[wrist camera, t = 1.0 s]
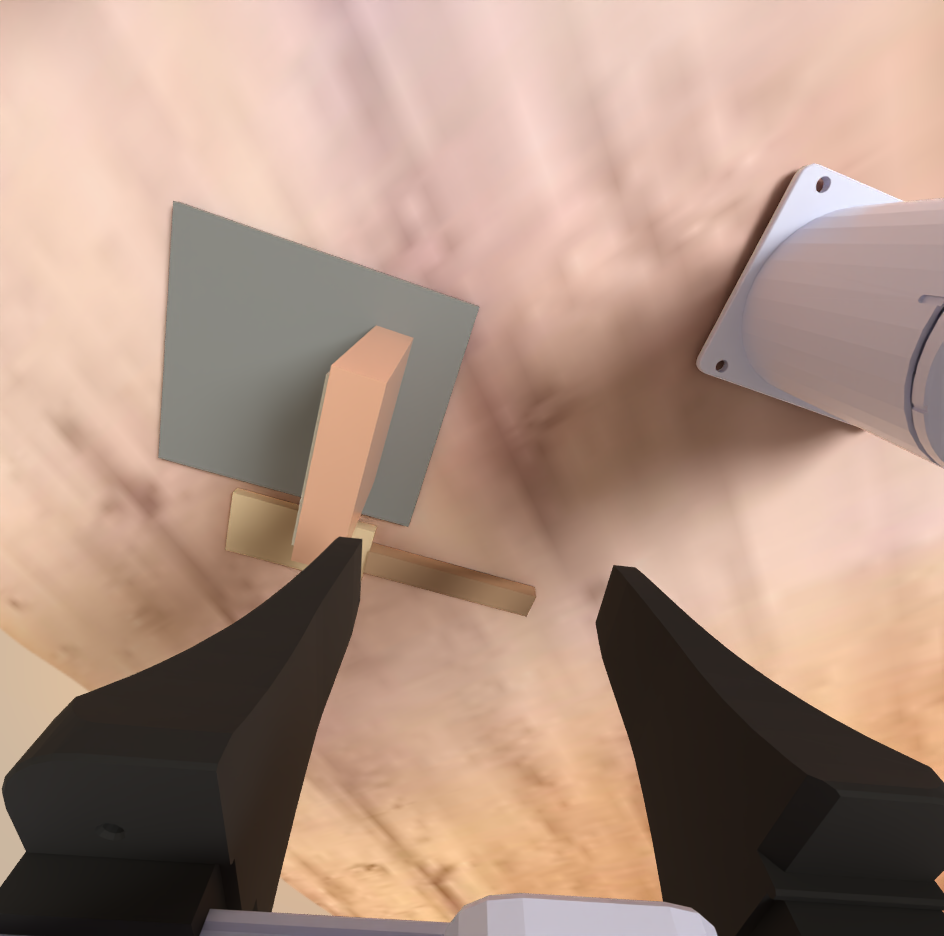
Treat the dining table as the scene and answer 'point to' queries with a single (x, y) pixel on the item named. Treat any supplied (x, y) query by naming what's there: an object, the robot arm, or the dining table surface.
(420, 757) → the dining table surface
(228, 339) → the mat
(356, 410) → the tile
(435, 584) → the tan wooden bar
